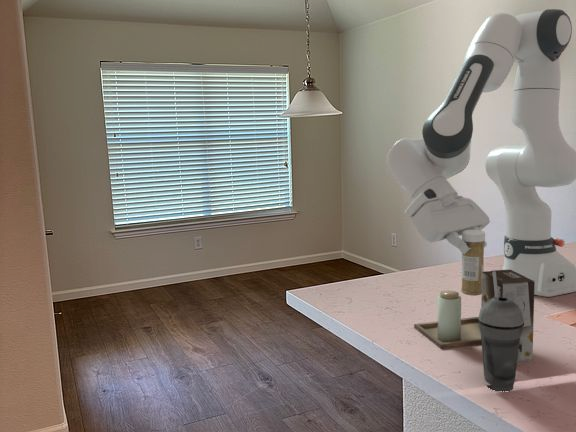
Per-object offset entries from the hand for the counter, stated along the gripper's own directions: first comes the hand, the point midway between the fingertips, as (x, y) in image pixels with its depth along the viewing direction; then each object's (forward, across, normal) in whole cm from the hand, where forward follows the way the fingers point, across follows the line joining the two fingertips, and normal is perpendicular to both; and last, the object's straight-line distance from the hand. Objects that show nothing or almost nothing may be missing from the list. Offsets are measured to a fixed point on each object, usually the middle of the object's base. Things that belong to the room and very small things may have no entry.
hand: (475, 249), depth 109 cm
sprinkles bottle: (+6, 0, -8) cm, 10 cm away
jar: (+12, +8, -13) cm, 19 cm away
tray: (+12, +3, -14) cm, 19 cm away
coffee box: (+20, +5, -6) cm, 22 cm away
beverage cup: (+24, +17, -3) cm, 30 cm away
